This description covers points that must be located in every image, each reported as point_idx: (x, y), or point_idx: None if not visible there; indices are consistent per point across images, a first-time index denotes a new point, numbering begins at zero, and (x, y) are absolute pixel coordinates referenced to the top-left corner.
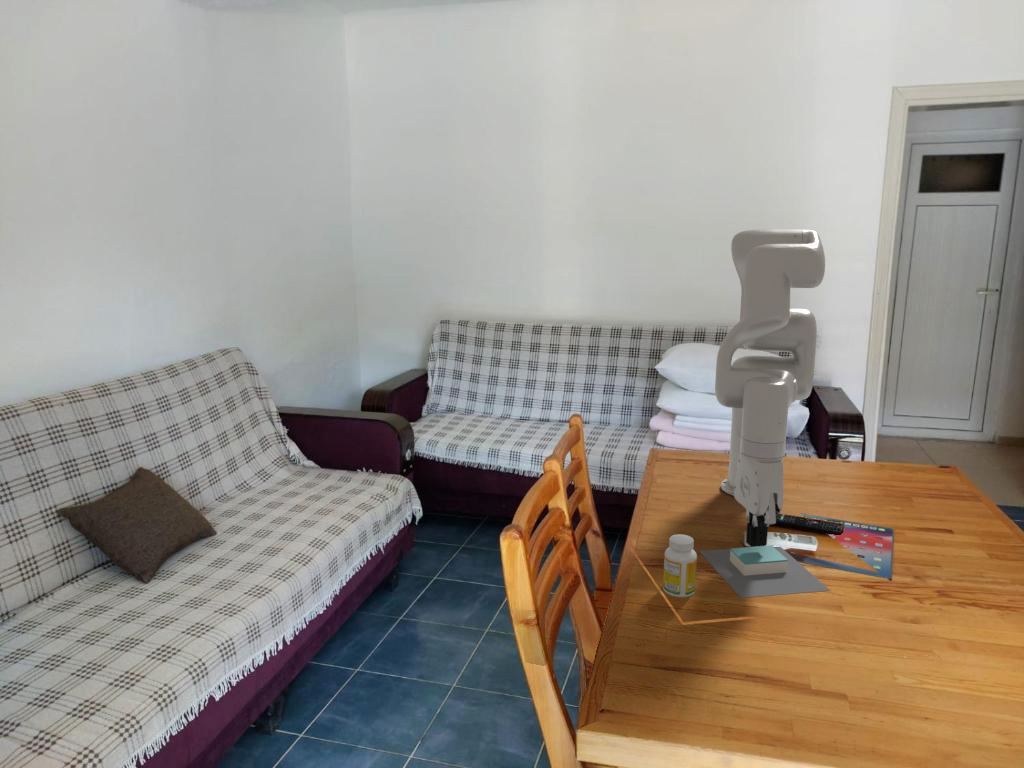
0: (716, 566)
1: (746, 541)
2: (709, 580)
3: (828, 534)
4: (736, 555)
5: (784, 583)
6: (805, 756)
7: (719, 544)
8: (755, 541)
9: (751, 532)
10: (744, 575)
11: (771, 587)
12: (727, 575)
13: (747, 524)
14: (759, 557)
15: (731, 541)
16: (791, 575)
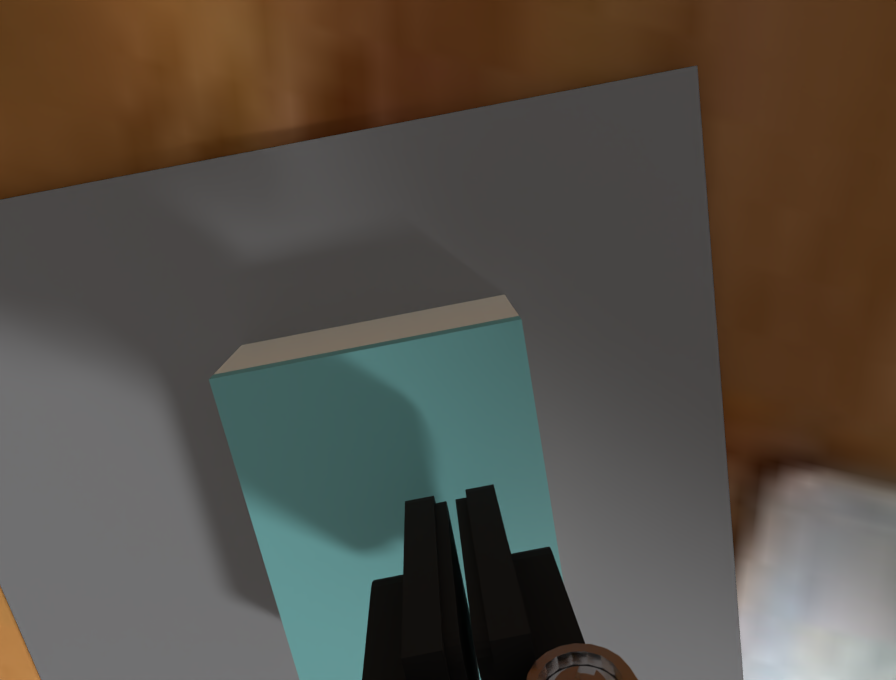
0: (392, 156)
1: (485, 489)
2: (169, 44)
3: None
4: (389, 342)
5: (149, 586)
6: None
7: (833, 284)
8: (396, 576)
9: (402, 602)
10: (239, 347)
11: (73, 491)
12: (231, 213)
13: (516, 620)
14: (338, 524)
15: (871, 389)
16: (277, 654)
